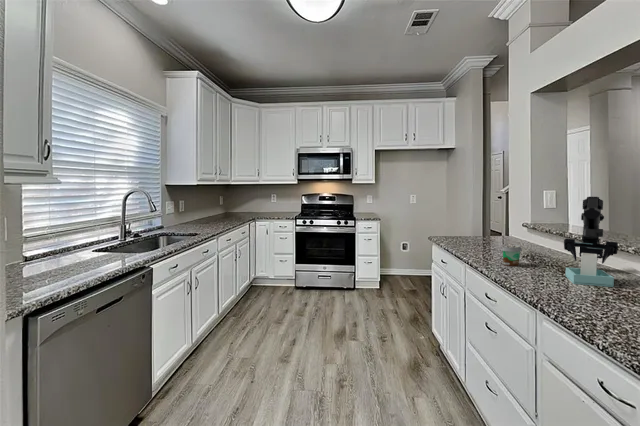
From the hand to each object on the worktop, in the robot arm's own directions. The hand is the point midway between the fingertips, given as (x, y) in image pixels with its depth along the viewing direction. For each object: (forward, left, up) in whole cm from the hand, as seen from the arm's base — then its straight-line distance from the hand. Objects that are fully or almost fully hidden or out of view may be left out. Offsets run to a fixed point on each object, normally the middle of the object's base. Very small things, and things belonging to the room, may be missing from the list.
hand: (588, 261), depth 150 cm
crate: (-1, 0, -9) cm, 9 cm away
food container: (-24, -26, -9) cm, 36 cm away
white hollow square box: (-1, 0, -8) cm, 8 cm away
